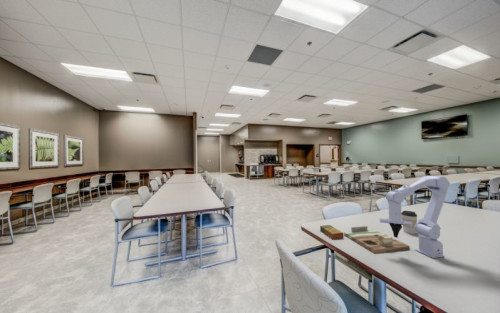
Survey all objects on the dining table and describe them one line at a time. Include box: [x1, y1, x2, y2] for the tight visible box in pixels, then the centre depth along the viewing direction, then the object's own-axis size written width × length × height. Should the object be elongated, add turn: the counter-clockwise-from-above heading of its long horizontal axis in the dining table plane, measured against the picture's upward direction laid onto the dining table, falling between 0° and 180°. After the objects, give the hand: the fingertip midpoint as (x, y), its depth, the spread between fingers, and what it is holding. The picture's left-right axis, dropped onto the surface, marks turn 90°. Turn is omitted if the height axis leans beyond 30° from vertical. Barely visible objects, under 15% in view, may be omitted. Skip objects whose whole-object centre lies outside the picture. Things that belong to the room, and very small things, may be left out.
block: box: [378, 233, 393, 247], centre depth 112 cm, size 5×5×5 cm
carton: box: [320, 224, 344, 240], centre depth 133 cm, size 8×16×4 cm, turn 9°
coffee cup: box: [401, 210, 418, 235], centre depth 135 cm, size 9×9×15 cm
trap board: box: [343, 225, 411, 254], centre depth 120 cm, size 26×24×5 cm
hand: (395, 236), depth 105 cm, fingers closed
